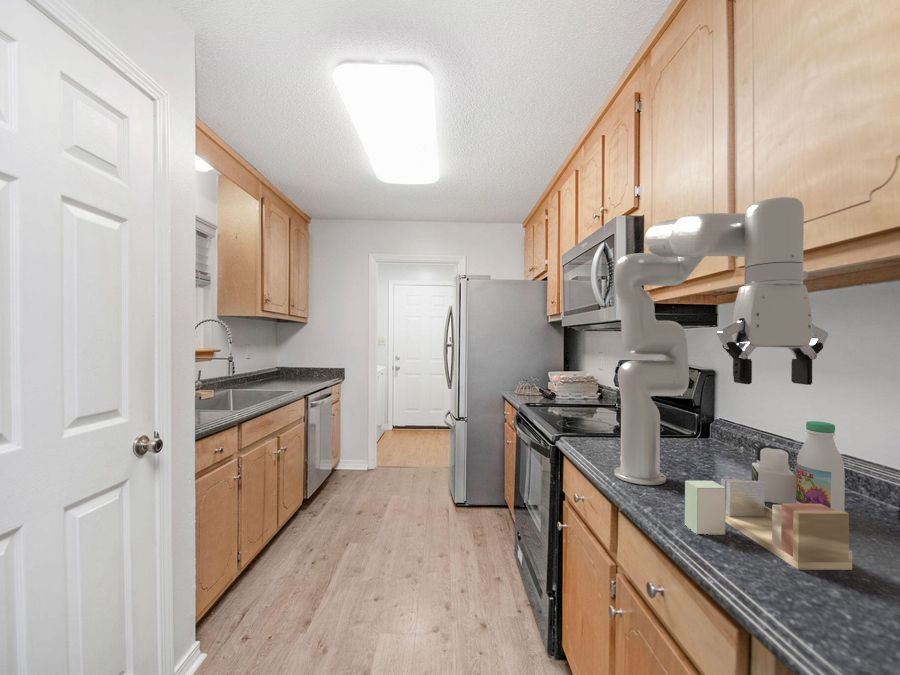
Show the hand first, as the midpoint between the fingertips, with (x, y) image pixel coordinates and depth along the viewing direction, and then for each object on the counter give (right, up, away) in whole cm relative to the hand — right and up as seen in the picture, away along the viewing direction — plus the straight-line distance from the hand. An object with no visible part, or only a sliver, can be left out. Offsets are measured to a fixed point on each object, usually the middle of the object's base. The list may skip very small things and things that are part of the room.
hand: (772, 383), depth 67 cm
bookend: (+9, -29, +20) cm, 37 cm away
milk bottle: (+26, -31, +21) cm, 46 cm away
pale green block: (-2, -30, +15) cm, 34 cm away
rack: (+9, -31, +13) cm, 34 cm away
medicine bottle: (+24, -31, +31) cm, 50 cm away
